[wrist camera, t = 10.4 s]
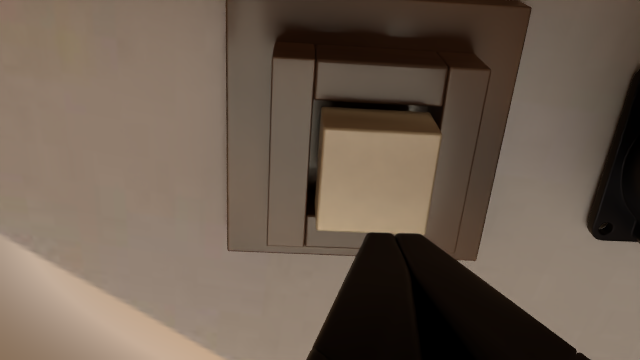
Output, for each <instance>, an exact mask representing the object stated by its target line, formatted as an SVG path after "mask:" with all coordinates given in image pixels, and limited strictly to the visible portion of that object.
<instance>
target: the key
mask: <svg viewBox="0 0 640 360" xmlns="http://www.w3.org/2000/svg"><path fill="white" fill-rule="evenodd" d="M441 140H442V133H441V131H440V129H439V128H438V126H437V124H436V122H435V121H434V119H433V117H432V115H431V114H430V113H429V112H416V111H397V110H378V109H359V108H341V107H322V108H321V118H320V133H319V147H318V162H317V176H316V190H315V221H316V230H318V231H334V232H358V233H370V232H380V233H392V234H397V233H418V234H421V235H425V233H426V229H427V223H428V217H429V211H430V205H431V199H432V193H433V187H434V181H435V176H436V170H437V164H438V158H439V152H440V146H441Z"/></svg>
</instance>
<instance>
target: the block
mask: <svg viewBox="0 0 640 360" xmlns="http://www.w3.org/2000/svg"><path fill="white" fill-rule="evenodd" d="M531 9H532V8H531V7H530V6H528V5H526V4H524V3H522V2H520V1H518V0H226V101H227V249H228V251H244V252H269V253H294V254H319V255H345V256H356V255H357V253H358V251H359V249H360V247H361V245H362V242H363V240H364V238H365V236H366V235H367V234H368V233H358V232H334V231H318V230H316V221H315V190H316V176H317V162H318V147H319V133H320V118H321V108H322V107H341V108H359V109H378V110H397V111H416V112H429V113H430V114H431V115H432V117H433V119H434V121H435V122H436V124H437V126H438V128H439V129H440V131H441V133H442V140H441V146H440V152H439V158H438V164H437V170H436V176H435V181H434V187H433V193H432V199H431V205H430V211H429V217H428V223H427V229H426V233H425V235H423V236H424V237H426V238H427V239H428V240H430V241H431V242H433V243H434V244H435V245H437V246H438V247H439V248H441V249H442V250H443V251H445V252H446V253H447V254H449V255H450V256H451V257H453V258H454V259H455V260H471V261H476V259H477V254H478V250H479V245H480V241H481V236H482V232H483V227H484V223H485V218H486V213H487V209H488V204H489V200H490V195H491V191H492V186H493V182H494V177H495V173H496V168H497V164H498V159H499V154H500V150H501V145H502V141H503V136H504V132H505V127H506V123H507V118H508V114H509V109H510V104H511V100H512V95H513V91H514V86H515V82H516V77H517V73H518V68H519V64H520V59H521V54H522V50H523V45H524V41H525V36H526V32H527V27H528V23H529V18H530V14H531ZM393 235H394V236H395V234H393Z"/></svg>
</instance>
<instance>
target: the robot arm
mask: <svg viewBox="0 0 640 360" xmlns="http://www.w3.org/2000/svg"><path fill="white" fill-rule="evenodd" d="M604 223H607V225H606V227H604V228H602V229H599V227H600V226H601V225H602V224H604ZM587 228H588V230H589V232H590V233H591V234H592V235H593V236H594V237H595V238H596V239H598V240H605V241H629V242H639V243H640V69H639V70H638V71H637V72H636V73H635V75H634V77H633V79H632V82H631V85H630V88H629V91H628V94H627V98H626V101H625V104H624V107H623V111H622V114H621V117H620V120H619V123H618V127H617V130H616V133H615V136H614V139H613V143H612V146H611V149H610V152H609V156H608V159H607V162H606V165H605V168H604V172H603V175H602V178H601V181H600V185H599V188H598V191H597V194H596V197H595V201H594V204H593V207H592V210H591V213H590V217H589V220H588V224H587ZM576 352H577V351H576V349H575V348H574V347H572V346H571V345H570V344H568V343H567V342H566V341H564V340H563V339H562V338H560V337H559V336H558V335H556V334H555V333H554V332H552V331H551V330H549V329H548V328H547V327H545V326H544V325H543V324H541V323H540V322H539V321H537V320H536V319H535V318H533V317H532V316H531V315H529V314H528V313H527V312H525V311H524V310H523V309H521V308H520V307H519V306H517V305H516V304H515V303H513V302H512V301H511V300H509V299H508V298H506V297H505V296H504V295H502V294H501V293H500V292H498V291H497V290H496V289H494V288H493V287H492V286H490V285H489V284H488V283H486V282H485V281H484V280H482V279H481V278H480V277H478V276H477V275H476V274H474V273H473V272H472V271H470V270H469V269H467V268H466V267H465V266H463V265H462V264H461V263H459V262H458V261H457V260H455V259H454V258H453V257H451V256H450V255H449V254H447V253H446V252H445V251H443V250H442V249H441V248H439V247H438V246H437V245H435V244H434V243H433V242H431V241H430V240H428V239H427V238H426V237H424V236H423V235H421V234H418V233H397V234H395V236H394V235H393V234H392V233H380V232H370V233H368V234H367V235H366V236H365V238H364V240H363V242H362V245H361V247H360V249H359V251H358V253H357V255H356V257H355V259H354V261H353V263H352V266H351V268H350V270H349V272H348V274H347V276H346V278H345V280H344V282H343V284H342V287H341V289H340V291H339V293H338V295H337V297H336V299H335V301H334V303H333V305H332V308H331V310H330V312H329V314H328V316H327V318H326V320H325V322H324V324H323V326H322V329H321V331H320V333H319V335H318V337H317V339H316V341H315V343H314V345H313V348H312V350H311V351H310V353H309V355H308V357H307V359H306V360H590V359H589V358H587V357H586V356H585V355H583V354H582V353H577V354H576Z"/></svg>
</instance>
